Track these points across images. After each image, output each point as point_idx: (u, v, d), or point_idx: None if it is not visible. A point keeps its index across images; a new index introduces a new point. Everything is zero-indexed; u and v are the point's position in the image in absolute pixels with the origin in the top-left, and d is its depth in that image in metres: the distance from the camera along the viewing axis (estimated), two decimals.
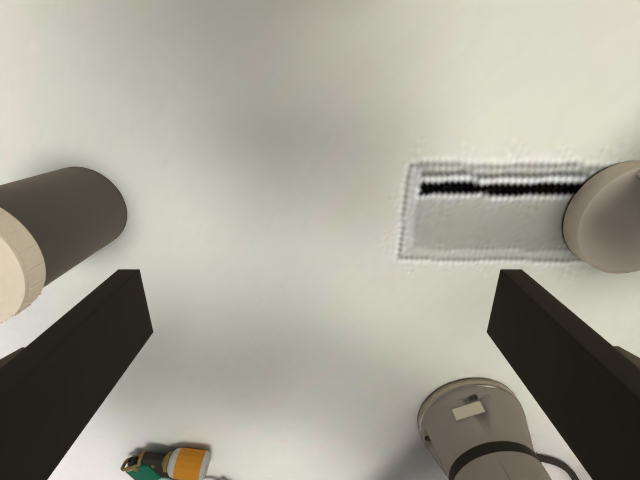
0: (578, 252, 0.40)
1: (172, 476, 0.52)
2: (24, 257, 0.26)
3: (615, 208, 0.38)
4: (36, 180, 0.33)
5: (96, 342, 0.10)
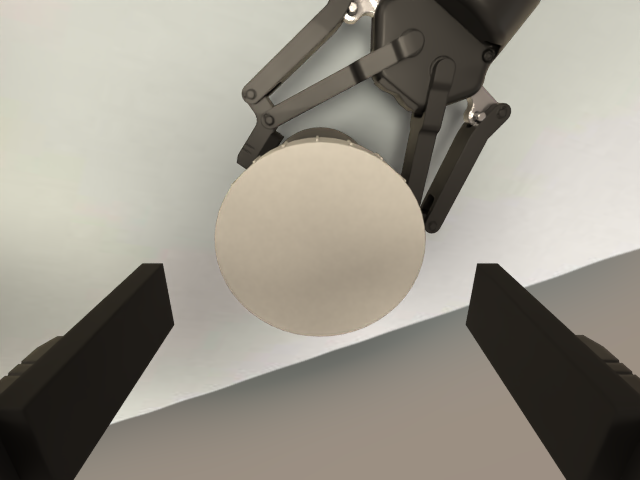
0: None
1: None
2: (262, 156, 0.16)
3: None
4: None
5: (126, 332, 0.10)
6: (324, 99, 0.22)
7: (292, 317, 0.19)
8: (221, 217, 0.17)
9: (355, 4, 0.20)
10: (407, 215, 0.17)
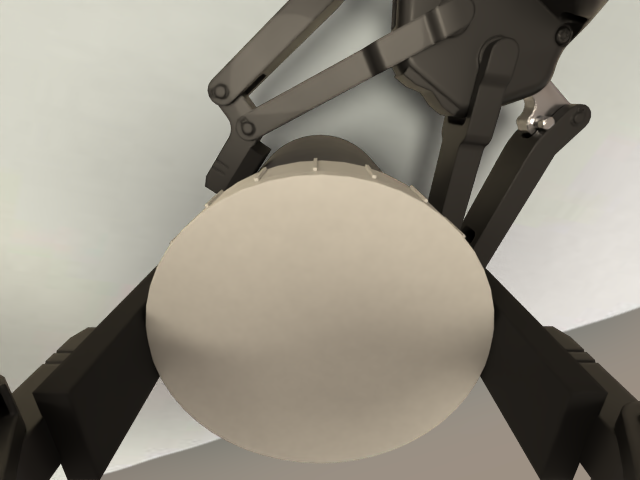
0: None
1: None
2: (221, 197, 0.09)
3: None
4: None
5: None
6: (326, 99, 0.16)
7: (276, 438, 0.12)
8: (154, 296, 0.10)
9: None
10: (467, 293, 0.10)
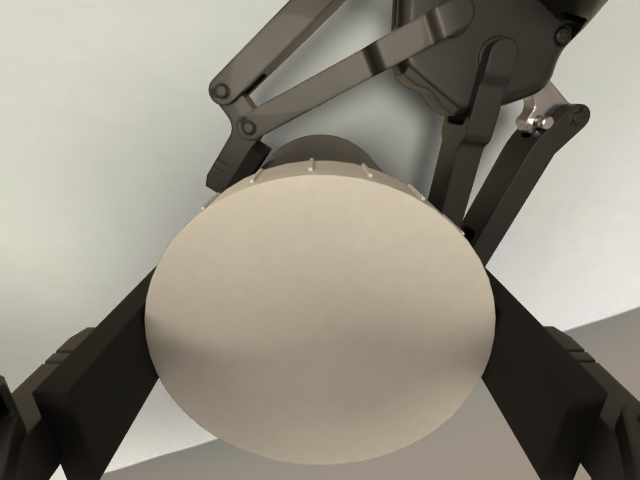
0: None
1: None
2: None
3: None
4: None
5: None
6: (326, 98, 0.16)
7: (441, 389, 0.11)
8: (264, 453, 0.12)
9: None
10: (257, 211, 0.09)
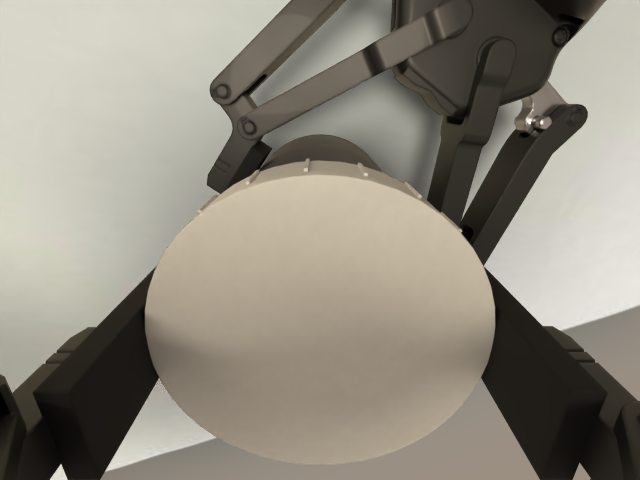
0: None
1: None
2: None
3: None
4: None
5: None
6: (326, 98, 0.16)
7: (392, 229, 0.09)
8: (458, 401, 0.11)
9: None
10: (182, 382, 0.11)
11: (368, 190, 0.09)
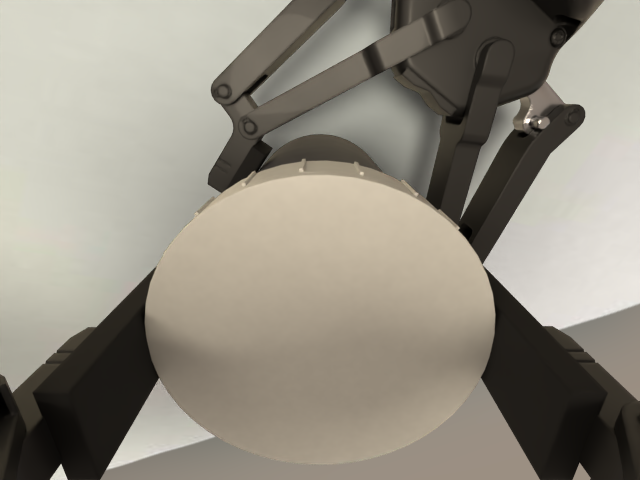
0: None
1: None
2: None
3: None
4: None
5: None
6: (326, 98, 0.16)
7: (188, 286, 0.10)
8: (415, 206, 0.09)
9: None
10: (353, 449, 0.12)
11: (153, 305, 0.10)
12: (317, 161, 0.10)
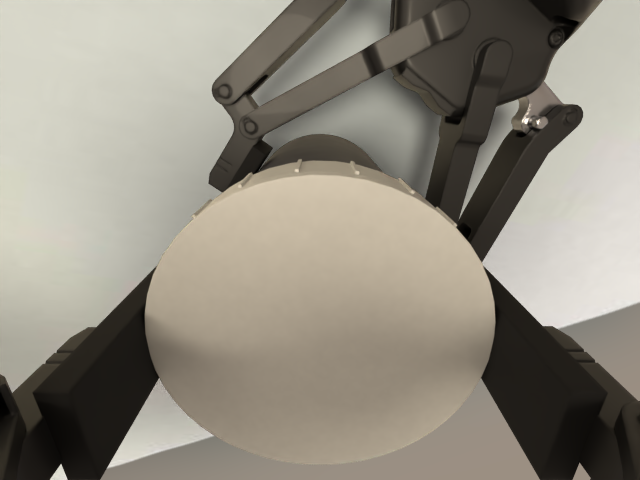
0: None
1: None
2: (256, 180, 0.09)
3: None
4: None
5: None
6: (326, 98, 0.16)
7: (253, 431, 0.12)
8: (164, 267, 0.09)
9: None
10: (473, 321, 0.10)
11: (271, 455, 0.12)
12: None
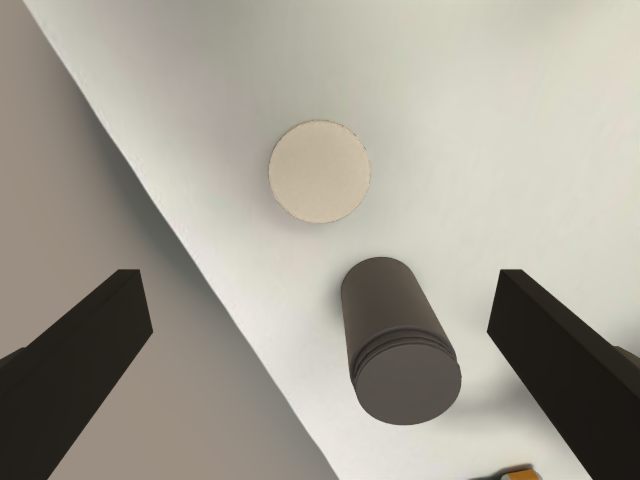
0: None
1: None
2: None
3: None
4: (379, 286, 0.35)
5: (96, 342, 0.10)
6: None
7: (352, 198, 0.36)
8: (292, 213, 0.37)
9: None
10: (312, 129, 0.34)
11: (363, 193, 0.36)
12: None
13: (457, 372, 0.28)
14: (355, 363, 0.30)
